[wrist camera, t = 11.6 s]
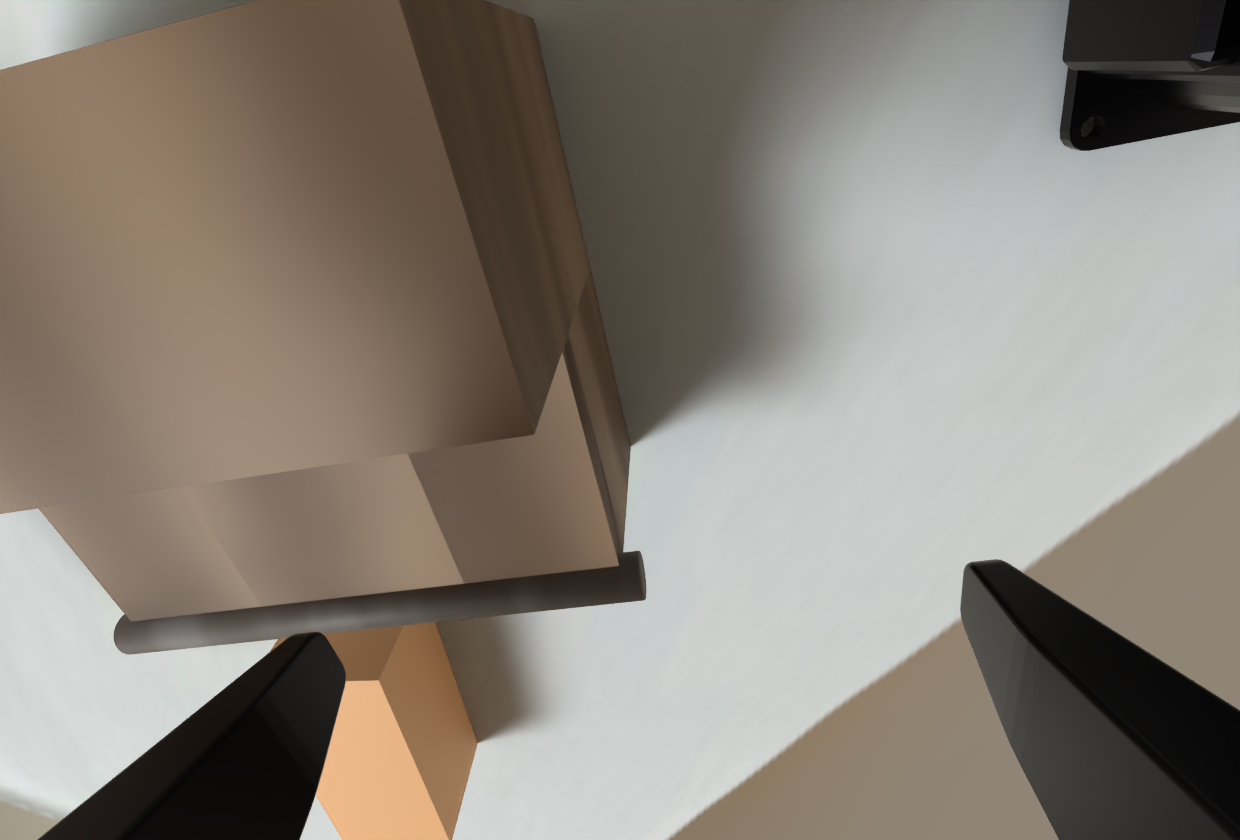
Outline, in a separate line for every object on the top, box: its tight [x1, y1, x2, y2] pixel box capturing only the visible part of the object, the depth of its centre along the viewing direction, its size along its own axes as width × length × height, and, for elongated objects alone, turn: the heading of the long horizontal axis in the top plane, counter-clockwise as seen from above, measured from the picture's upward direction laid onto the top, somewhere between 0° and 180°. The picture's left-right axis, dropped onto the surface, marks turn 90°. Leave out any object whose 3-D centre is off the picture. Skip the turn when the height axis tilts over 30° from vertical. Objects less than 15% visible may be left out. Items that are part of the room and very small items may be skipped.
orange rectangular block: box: [269, 622, 477, 840], centre depth 25 cm, size 4×10×4 cm, turn 6°
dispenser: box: [0, 0, 646, 654], centre depth 15 cm, size 15×13×9 cm
